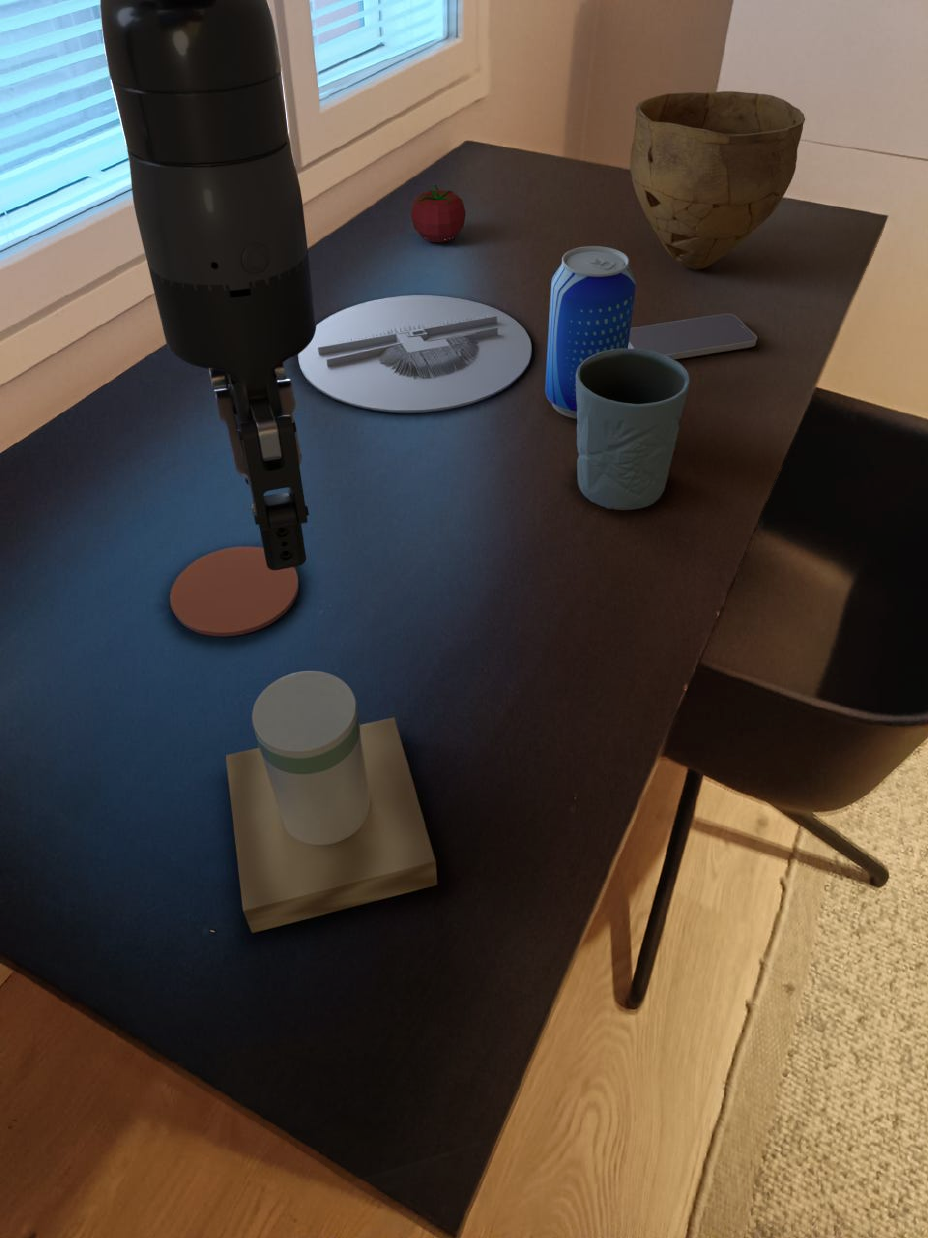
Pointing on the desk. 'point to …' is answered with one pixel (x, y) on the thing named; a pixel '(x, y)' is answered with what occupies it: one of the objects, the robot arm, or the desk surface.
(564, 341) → the beer can
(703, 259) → the bowl
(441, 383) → the plate
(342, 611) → the desk surface
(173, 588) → the coaster
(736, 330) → the smartphone
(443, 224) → the tomato
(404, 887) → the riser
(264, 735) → the canister
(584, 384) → the embossed ceramic tumbler
